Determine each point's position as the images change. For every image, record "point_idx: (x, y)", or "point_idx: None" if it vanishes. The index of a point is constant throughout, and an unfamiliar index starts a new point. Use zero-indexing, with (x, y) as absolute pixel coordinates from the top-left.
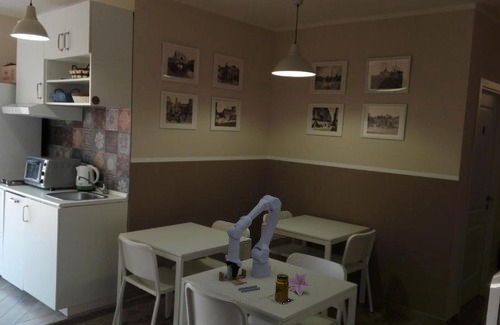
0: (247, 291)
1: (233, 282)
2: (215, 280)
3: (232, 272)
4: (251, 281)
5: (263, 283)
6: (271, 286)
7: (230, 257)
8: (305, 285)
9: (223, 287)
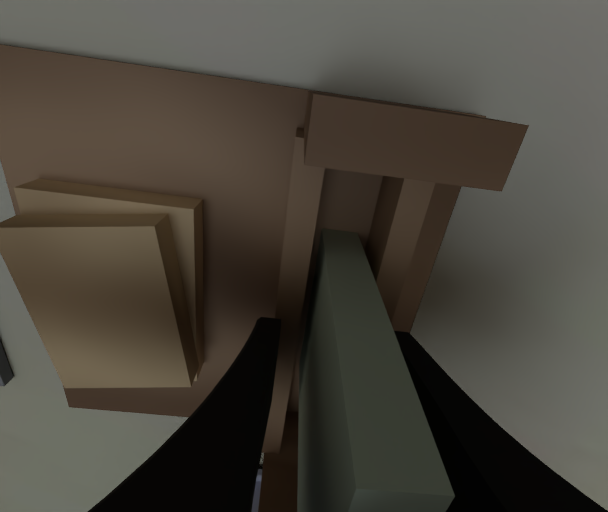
0: None
1: (109, 221)
2: (525, 109)
3: (243, 377)
4: None
5: None
6: (41, 488)
7: None
8: None
9: (163, 24)
